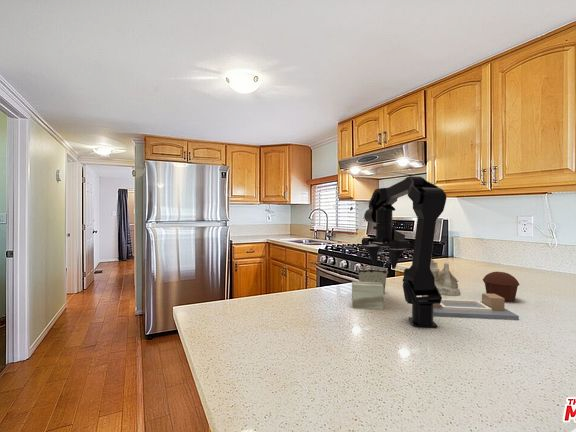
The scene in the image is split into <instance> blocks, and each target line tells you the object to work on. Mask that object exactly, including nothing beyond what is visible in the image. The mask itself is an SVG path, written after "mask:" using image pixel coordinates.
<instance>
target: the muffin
mask: <svg viewBox="0 0 576 432" xmlns="http://www.w3.org/2000/svg"><path fill="white" fill-rule="evenodd" d="M482 281H483V282H484V286H485V287H484V288H485V293H488V294H496V295H498V296H500V297H502V298H505V303H514V302H516V297H517V292H518V291H517V290H518V287H519V286H520V283H519V280H517V278H516V277H515V276H513V275H512V274H510V273H507V272H503V271H492V272H489V273H487V274H486V275H485V276H484V277H483V278H482Z"/></svg>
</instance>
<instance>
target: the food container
mask: <svg viewBox="0 0 576 432" xmlns="http://www.w3.org/2000/svg"><path fill="white" fill-rule="evenodd" d="M356 274H358V282H381V283H382V284H383V286H384V294H385V293H386V292H385V291H386V284H387V275H389V270H388V268H386V267H381V266H376V265H372V266H371V265H370V266H369V265H368V266H366V265H365V266H359V267H357V271H356Z"/></svg>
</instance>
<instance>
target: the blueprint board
mask: <svg viewBox="0 0 576 432" xmlns="http://www.w3.org/2000/svg"><path fill="white" fill-rule="evenodd" d="M427 296H428V295H424V296H421V297H427ZM505 303H506V302H505V298H502V297H500V296H498V295H496V294H488V293H486V292H482V293H481V301H479V300H471V299H470V300H469V299H447V298H446V299H445V298H444V299H443V298H442V300H441V303H440V304H438V303H436V304H433V317H442V318H443V317H448V318H449V317H450V318H466V319H467V318H469V319H488V320H492V319H493V320H509V321H510V320H515V321H519V320H520V315H518V314H516V313H515V312H512V311H511V310H509V309H507V308H505Z"/></svg>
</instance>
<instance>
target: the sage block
mask: <svg viewBox="0 0 576 432" xmlns="http://www.w3.org/2000/svg"><path fill="white" fill-rule="evenodd" d="M384 295H385V293H384V286H383V284H382V283H381V282H359V281H351V305H352V308H353V309H365V310H366V309H369V310H371V309H372V310H384Z"/></svg>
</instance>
